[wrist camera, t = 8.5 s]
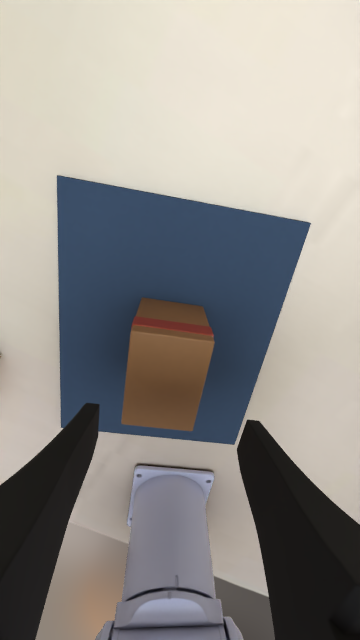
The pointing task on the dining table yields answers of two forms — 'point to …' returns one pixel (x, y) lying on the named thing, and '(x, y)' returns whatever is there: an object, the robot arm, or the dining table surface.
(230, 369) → the napkin
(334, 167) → the dining table surface
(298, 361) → the dining table surface
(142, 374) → the packet
